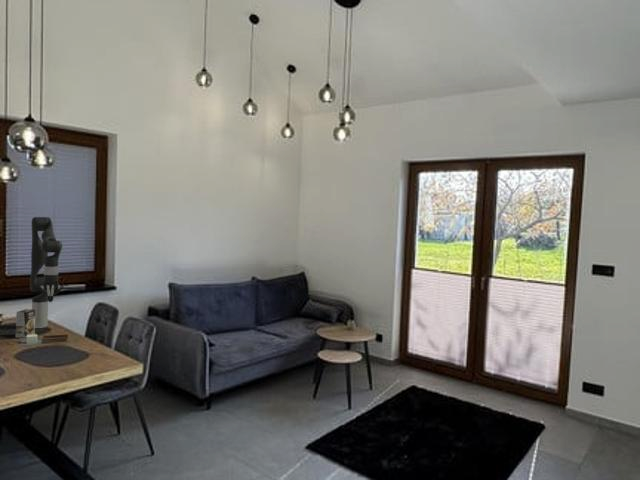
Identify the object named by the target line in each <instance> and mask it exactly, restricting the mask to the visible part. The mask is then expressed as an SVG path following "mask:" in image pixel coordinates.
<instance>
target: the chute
mask: <svg viewBox="0 0 640 480" xmlns="http://www.w3.org/2000/svg"><path fill="white" fill-rule="evenodd" d="M41 339H42V344H41V345H51V344H53V345H54V344H66V343H67V341H68V339H69V334H68V333H66V334H65V333H63V334H62V333H61V334H45V335H43V336H42V338H41Z"/></svg>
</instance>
